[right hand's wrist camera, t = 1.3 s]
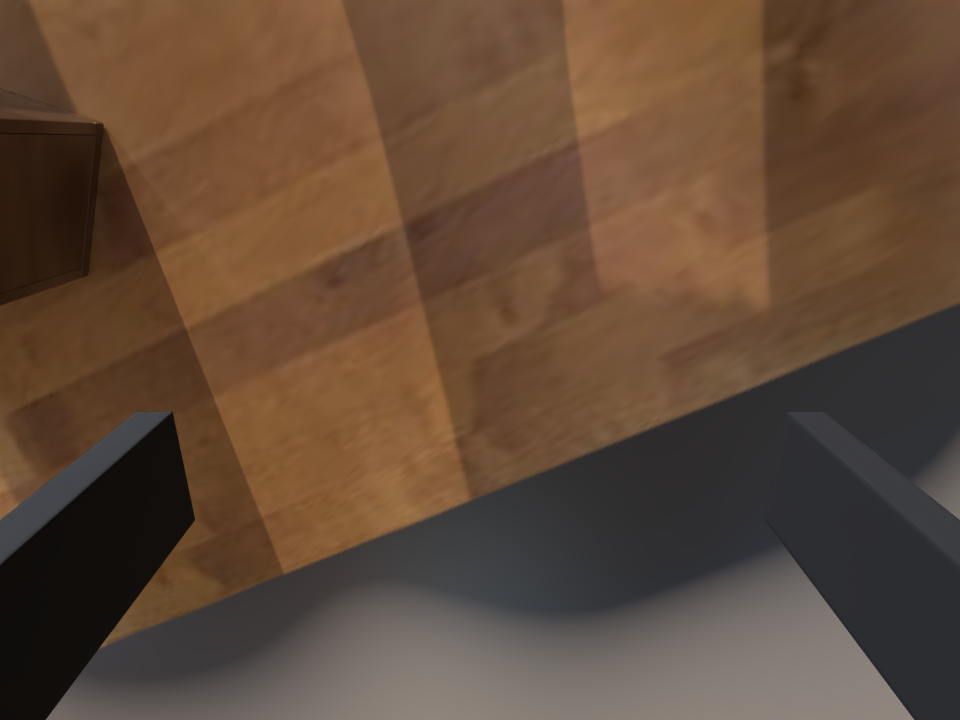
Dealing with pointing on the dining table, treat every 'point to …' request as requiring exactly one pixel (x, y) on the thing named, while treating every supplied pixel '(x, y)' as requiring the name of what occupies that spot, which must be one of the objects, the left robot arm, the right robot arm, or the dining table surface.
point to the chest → (45, 195)
